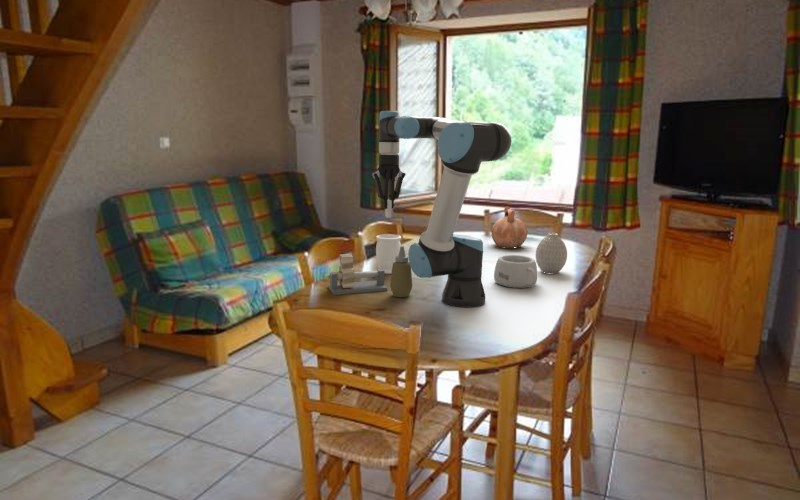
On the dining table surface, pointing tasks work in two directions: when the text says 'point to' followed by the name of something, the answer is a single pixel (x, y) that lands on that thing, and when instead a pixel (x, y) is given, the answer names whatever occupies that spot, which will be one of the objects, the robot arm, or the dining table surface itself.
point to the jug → (509, 230)
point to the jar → (387, 251)
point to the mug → (515, 271)
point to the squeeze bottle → (401, 275)
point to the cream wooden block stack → (346, 270)
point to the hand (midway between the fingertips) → (388, 217)
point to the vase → (551, 254)
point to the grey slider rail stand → (358, 283)
